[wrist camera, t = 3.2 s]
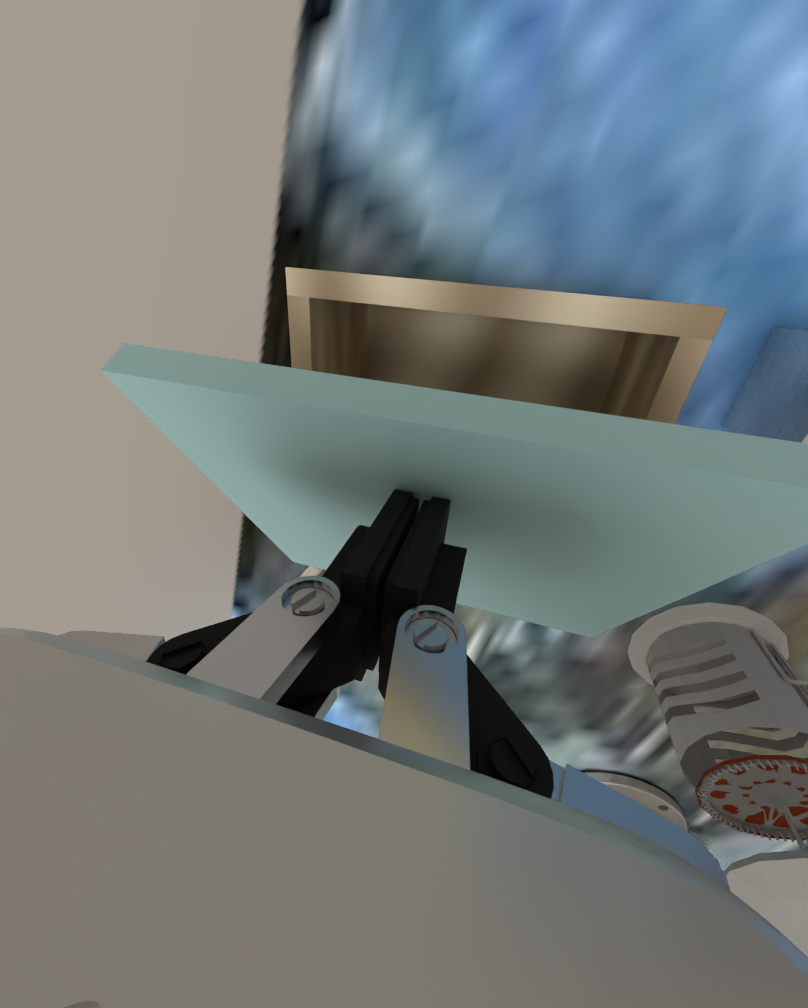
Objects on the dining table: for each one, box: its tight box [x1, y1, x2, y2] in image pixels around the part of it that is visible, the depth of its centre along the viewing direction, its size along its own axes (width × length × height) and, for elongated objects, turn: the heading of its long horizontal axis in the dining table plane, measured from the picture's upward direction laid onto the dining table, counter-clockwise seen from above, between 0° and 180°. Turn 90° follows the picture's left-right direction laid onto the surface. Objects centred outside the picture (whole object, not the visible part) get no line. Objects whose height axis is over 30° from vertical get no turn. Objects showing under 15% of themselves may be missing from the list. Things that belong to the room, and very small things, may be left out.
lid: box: [101, 343, 808, 638], centre depth 14 cm, size 16×14×1 cm
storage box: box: [285, 267, 728, 424], centre depth 21 cm, size 16×14×8 cm
